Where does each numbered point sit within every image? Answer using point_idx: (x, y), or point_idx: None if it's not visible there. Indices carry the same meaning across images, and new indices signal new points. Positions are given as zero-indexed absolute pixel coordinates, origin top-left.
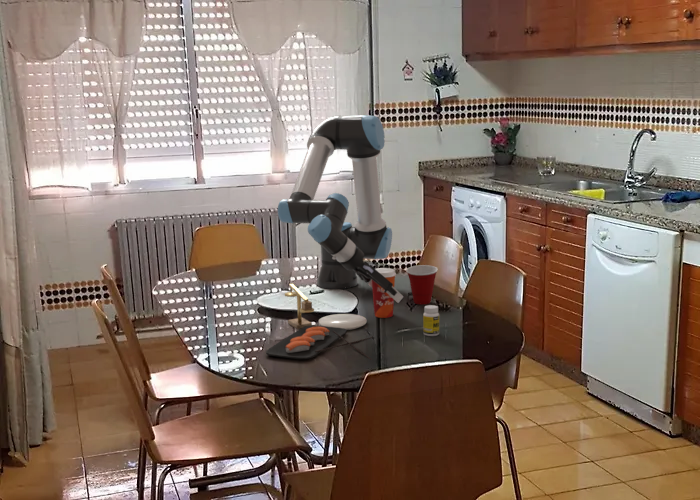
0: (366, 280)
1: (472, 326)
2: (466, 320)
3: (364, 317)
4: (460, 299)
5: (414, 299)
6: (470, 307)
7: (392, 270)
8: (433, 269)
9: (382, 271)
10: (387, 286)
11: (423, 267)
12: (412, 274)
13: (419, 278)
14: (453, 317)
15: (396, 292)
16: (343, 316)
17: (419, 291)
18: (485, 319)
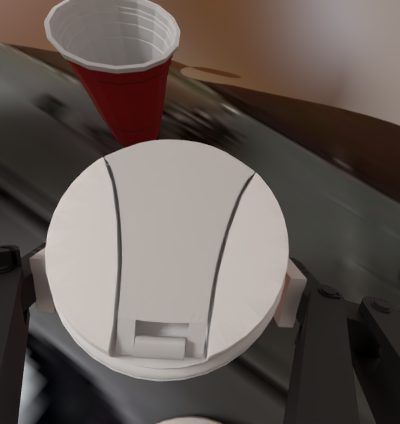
0: (26, 330)
1: (373, 170)
2: (325, 153)
3: (201, 420)
4: (175, 76)
5: (130, 141)
6: (238, 96)
7: (231, 167)
8: (127, 9)
9: (216, 258)
10: (381, 351)
11: (82, 8)
12: (127, 71)
13: (152, 77)
14: (292, 158)
15: (296, 263)
16: None
17: (149, 118)
18: (331, 126)
